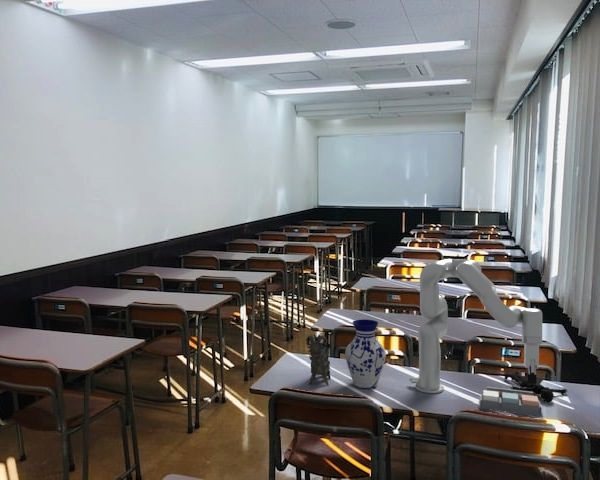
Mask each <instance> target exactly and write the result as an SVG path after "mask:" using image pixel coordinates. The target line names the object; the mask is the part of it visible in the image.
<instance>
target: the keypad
mask: <svg viewBox="0 0 600 480" xmlns="http://www.w3.org/2000/svg"><path fill="white" fill-rule="evenodd" d="M486 389H487V390H488V391H497V392H499V402H495V401H487V400H483V393H480V395H479V402H478V403H479V404H478V408H479V409H480V410H481V409H482V410H490V409H491V411H496V410H500V411H499V412H504V411H506V412H505V413H512V412H515V413H514V414H519V413H520V415H529V416H536V417H537V416H538V417H544V416H543V410H542V404H541V400H539V399H538V401H539V404H538V407H536V406H528V405H522V402H521V397H522V395H531V396H534V393H533V392H530V391H521V390H513V389H512V388H504V387H496V386H495V387H494V386H493V387H492V386H486ZM502 392H505V393H514V394H518V404H511V403H503V402H502Z"/></svg>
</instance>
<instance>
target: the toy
mask: <svg viewBox="0 0 600 480" xmlns="http://www.w3.org/2000/svg"><path fill="white" fill-rule="evenodd" d="M503 378H504V380H508V378H510V380H513V381H515V382H516V383H517V384H518V385H519V387H518V386H517V387H516V386H511V387H510V388H509V389H513V390H521V391H530V392H533V395H535V396H539V397H540V399H542V400H543V401H542V402H543V403H550V402H553V400H554V395H555V394H554V393H559V394H560V395H563V396H564V395H565V394H566V395H567V394H568V391H569V390H567V388H564V389H563V388H562V389H560V388H558V389H556V388H549V387H546V386H544V385H542V384H541V383H543V381H544V380H545V379H544V378H542V377H536V384H529V383H528V381H527V377H526V375H525V376H523V375H522V376H521V375H520V374H517V373H508V372H505V373H504V377H503Z"/></svg>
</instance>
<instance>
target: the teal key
mask: <svg viewBox="0 0 600 480" xmlns="http://www.w3.org/2000/svg"><path fill="white" fill-rule="evenodd" d="M502 402H503V403H511V404H518V394H514V393H505V392H502Z"/></svg>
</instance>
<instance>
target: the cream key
mask: <svg viewBox="0 0 600 480" xmlns="http://www.w3.org/2000/svg"><path fill="white" fill-rule="evenodd" d="M482 394H483V400H487V401H495V402H499V392H497V391H488V390H486V389H483V393H482Z"/></svg>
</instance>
